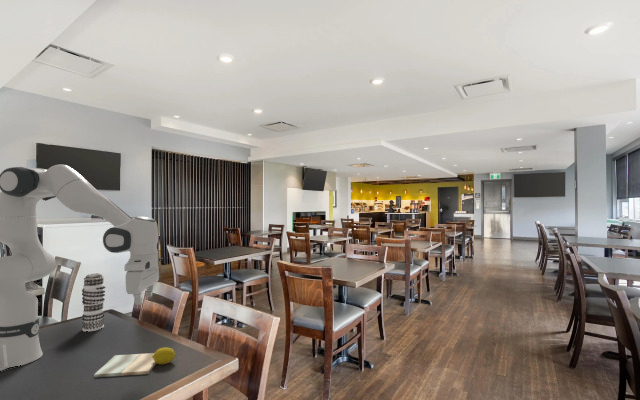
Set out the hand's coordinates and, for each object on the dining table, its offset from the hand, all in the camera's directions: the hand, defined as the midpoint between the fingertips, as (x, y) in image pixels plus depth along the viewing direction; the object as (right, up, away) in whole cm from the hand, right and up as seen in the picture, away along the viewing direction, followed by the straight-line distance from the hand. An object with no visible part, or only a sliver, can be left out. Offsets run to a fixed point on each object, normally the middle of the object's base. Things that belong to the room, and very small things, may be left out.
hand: (144, 300), depth 118 cm
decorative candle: (-43, -24, +35) cm, 60 cm away
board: (-4, -23, -1) cm, 23 cm away
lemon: (+3, -20, 0) cm, 20 cm away
